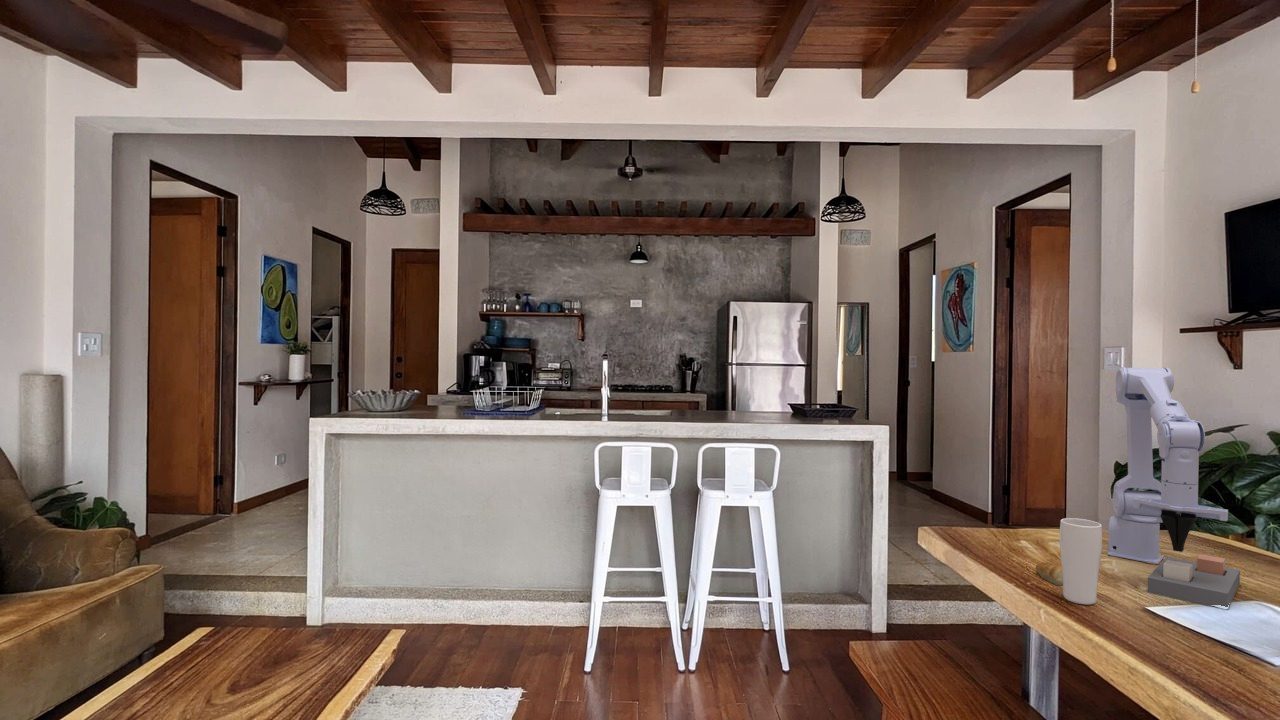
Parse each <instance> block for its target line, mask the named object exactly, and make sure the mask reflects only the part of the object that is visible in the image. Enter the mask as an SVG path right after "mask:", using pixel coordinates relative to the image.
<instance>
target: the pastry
mask: <svg viewBox="0 0 1280 720" xmlns="http://www.w3.org/2000/svg"><path fill="white" fill-rule="evenodd" d="M1035 570H1036V572H1037V574H1038V575H1039V576H1040V577H1041V578H1042V579H1043V580H1046V581H1048V582H1049V583H1051V584H1054V585H1056V586H1059V587H1063V575H1062V563H1059V562H1043V561H1042V562H1040V563H1037V564H1036V565H1035Z"/></svg>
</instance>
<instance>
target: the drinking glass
mask: <svg viewBox="0 0 1280 720" xmlns="http://www.w3.org/2000/svg"><path fill="white" fill-rule="evenodd" d="M1059 547H1060V560H1061V561H1060V562H1061V563H1060V564H1062V575H1063V586H1062V595H1063V597H1064V598H1065V599H1066V600H1067V601H1069V602H1071V603H1074V604H1079V605H1094V604H1096V602H1097V600H1098V599H1097V595H1098V594H1097V591H1098V582H1099V573H1100V567H1101V557H1102V548H1103V525H1102V524H1101V523H1099V522H1097V521H1094V520H1089V519H1085V518H1077V517H1076V518H1073V517H1072V518H1071V517H1065V518H1062V519H1060V523H1059Z"/></svg>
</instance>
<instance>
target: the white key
mask: <svg viewBox="0 0 1280 720" xmlns="http://www.w3.org/2000/svg"><path fill="white" fill-rule="evenodd" d="M1192 566H1193V564H1187V563H1182V562H1176V561H1171V560H1167V561H1166V562H1165V563H1164V564H1163V577H1166V578H1171V579H1176V580H1181V581H1186V582H1191V581H1192Z"/></svg>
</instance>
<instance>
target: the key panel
mask: <svg viewBox="0 0 1280 720" xmlns="http://www.w3.org/2000/svg"><path fill="white" fill-rule="evenodd" d="M1167 560H1171V561H1176V562H1182V563H1187V564H1193V566H1192V581H1191V582H1186V581H1181V580H1176V579H1171V578H1166V577H1163V564H1164V563H1165V562H1166V561H1167ZM1159 563H1160V564H1159ZM1159 563H1158V565H1157V566H1156V568H1155V569H1154V570H1153V571H1152V572H1150V574H1149V575H1148V577H1147V588H1146V589H1147V590H1146V591H1147V594H1148V593H1149V594H1153V595H1157V596H1162V597H1165V598H1166V597H1167V598H1170V599H1176V600H1181V601H1185V602H1189V603H1194V604H1198V605H1203V606H1208V605H1221V606H1225V607H1228V605H1229V603H1232V602H1233V599H1234V597H1235V595H1236V592H1237V591H1238V589H1239V586H1240V581H1241V569H1238V568H1237V569H1236V568H1233V567H1232V568H1231V567H1226V566H1225V574H1224V576H1222V575H1217V574H1212V573H1206V572H1201V571H1197V561H1193V560H1186V559H1182V558H1176V557H1169V556H1166V557H1165V558H1163V559H1162V560H1161V561H1160V562H1159Z"/></svg>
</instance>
